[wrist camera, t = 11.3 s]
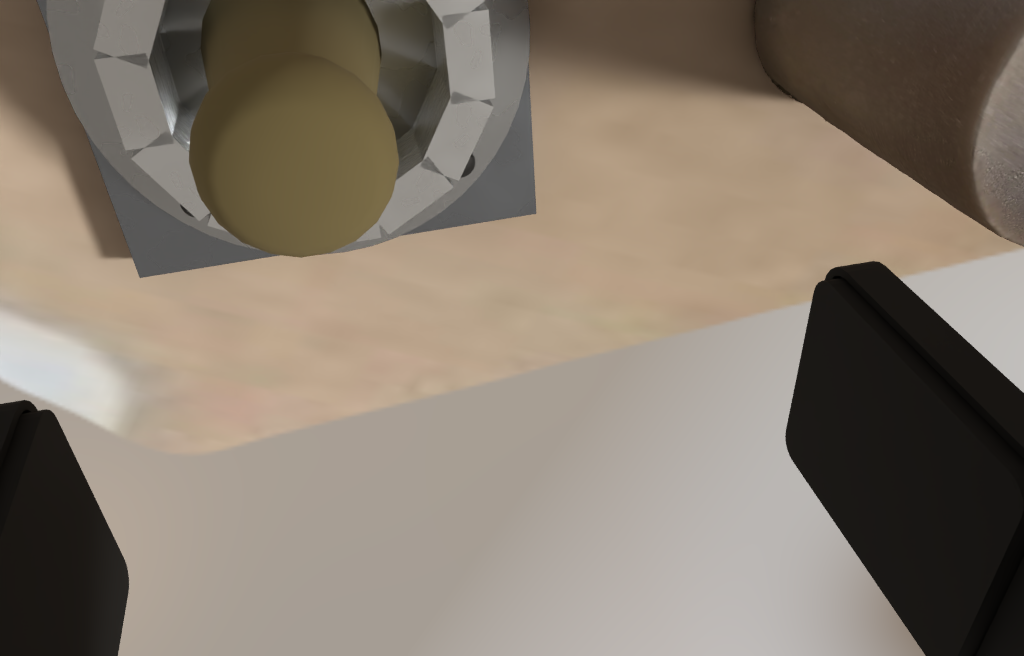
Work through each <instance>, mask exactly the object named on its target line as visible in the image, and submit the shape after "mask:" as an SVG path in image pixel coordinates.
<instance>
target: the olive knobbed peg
mask: <svg viewBox="0 0 1024 656" xmlns="http://www.w3.org/2000/svg"><path fill="white" fill-rule="evenodd" d="M201 53H202V58H203V63H204V68H205V73H206V79H207V84H208V89H209V91H208V92H207V93H206V94H205V96H204V99H203V101H202V103H201V105H200V108H199V110H198V112H197V114H196V116H195V119H194V121H193V124H192V127H191V132H190V148H189V164H190V168H191V171H192V174H193V178H194V181H195V184H196V188H197V191H198V194H199V196H200V198H201V200H202V201H203V203H204V204H205V206H206V207H207V209H208V210H209V211H210V213H211V214H212V216H213V217H214V218H215V220H216V221H217V223H218V224H219V225H220V226H222V227H223V228H224V229H226V230H227V231H228V232H229V233H231V234H232V235H233V236H235V237H236V238H237V239H238V240H240V241H241V242H242V243H245V244H247V245H250V246H252V247H255V248H257V249H260V250H262V251H265V252H267V253H270V254H275V255H284V256H293V257H307V256H313V255H320V254H326V253H331V252H333V251H335V250H337V249H340V248H342V247H344V246H346V245H348V244H350V243H353V242H355V241H357V240H358V239H359V238H360V237H361V236H362V235H363V234H364V233H366V232H367V231H368V230H369V229H370V228H371V227H372V226H373V225H375V224H376V223H377V222H378V220H379V218H380V217H381V215H382V213H383V211H384V210H385V208H386V206H387V204H388V203H389V201H390V199H391V197H392V194H393V191H394V187H395V182H396V176H397V171H398V166H399V157H398V150H397V143H396V137H395V131H394V128H393V125H392V123H391V121H390V119H389V117H388V115H387V113H386V111H385V109H384V107H383V105H382V104H381V102H380V100H379V98H378V96H377V88H378V81H379V73H380V65H381V57H382V52H381V45H380V38H379V31H378V26H377V24H376V22H375V20H374V18H373V16H372V14H371V12H370V9H369V7H368V5H367V3H366V1H365V0H211V1H210V3H209V6H208V8H207V10H206V13H205V15H204V17H203V20H202V33H201Z"/></svg>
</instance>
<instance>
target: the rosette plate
mask: <svg viewBox="0 0 1024 656" xmlns="http://www.w3.org/2000/svg"><path fill="white" fill-rule="evenodd" d="M210 1H211V0H37V2H38V5H39V8H40V10H41V13H42V16H43V18H44V21H45V24H46V27H47V29H48V32H49V35H50V41H51V47H52V53H53V56H54V59H55V62H56V66H57V69H58V72H59V76H60V79H61V82H62V85H63V87H64V89H65V92H66V94H67V96H68V98H69V100H70V103H71V105H72V107H73V109H74V112H75V114H76V115H77V117H78V119H79V120H80V122H81V123H82V125H83V127H84V129H85V132H86V134H87V137H88V140H89V142H90V145H91V148H92V150H93V153H94V156H95V158H96V161H97V164H98V167H99V169H100V172H101V175H102V177H103V180H104V183H105V185H106V188H107V191H108V193H109V196H110V199H111V202H112V204H113V207H114V210H115V212H116V215H117V218H118V220H119V223H120V226H121V228H122V231H123V234H124V237H125V239H126V242H127V245H128V247H129V250H130V253H131V255H132V258H133V261H134V263H135V266H136V269H137V272H138V274H139V277H140V278H142V277H148V276H155V275H161V274H167V273H173V272H179V271H185V270H192V269H198V268H204V267H210V266H216V265H222V264H229V263H235V262H241V261H247V260H253V259H259V258H266V257H272V256H278V255H275V254H270V253H267V252H265V251H262V250H260V249H257V248H255V247H252V246H250V245H247V244H245V243H242V242H241V241H240V240H238V239H237V238H236V237H235V236H233V235H232V234H231V233H229V232H228V231H227V230H226V229H224V228H223V227H222V226H220V225H219V224H218V223H217V221H216V220H215V218H214V217H213V216H212V214H211V213H210V211H209V210H208V209H207V207H206V206H205V204H204V203H203V201H202V200H201V198H200V196H199V194H198V191H197V188H196V184H195V181H194V178H193V174H192V171H191V168H190V164H189V148H190V132H191V127H192V124H193V121H194V119H195V116H196V114H197V112H198V110H199V108H200V105H201V103H202V101H203V99H204V96H205V94H206V93H207V92H208V91H209V89H208V84H207V79H206V73H205V68H204V63H203V58H202V53H201V33H202V20H203V17H204V15H205V13H206V10H207V8H208V6H209V3H210ZM365 1H366V3H367V5H368V7H369V9H370V12H371V14H372V16H373V18H374V20H375V22H376V24H377V26H378V31H379V38H380V45H381V52H382V57H381V65H380V73H379V81H378V88H377V96H378V98H379V100H380V102H381V104H382V105H383V107H384V109H385V111H386V113H387V115H388V117H389V119H390V121H391V123H392V125H393V128H394V131H395V137H396V143H397V150H398V157H399V166H398V171H397V176H396V182H395V187H394V191H393V194H392V197H391V199H390V201H389V203H388V204H387V206H386V208H385V210H384V211H383V213H382V215H381V217H380V218H379V220H378V222H377V223H376V224H375V225H373V226H372V227H371V228H370V229H369V230H368V231H367V232H366V233H364V234H363V235H362V236H361V237H360V238H359V239H358V240H357V241H355V242H353V243H350V244H348V245H346V246H344V247H342V248H340V249H337V250H335V251H333V252H331V253H340V252H347V251H352V250H356V249H361V248H365V247H370V246H373V245H376V244H379V243H382V242H385V241H388V240H390V239H393V238H396V237H398V236H401V235H407V234H414V233H420V232H426V231H432V230H438V229H444V228H451V227H457V226H463V225H469V224H475V223H481V222H488V221H494V220H500V219H506V218H512V217H518V216H525V215H531V214H536V199H535V180H534V160H533V141H532V122H531V102H530V83H529V64H528V60H529V53H530V18H529V9H528V0H365ZM326 254H330V253H326ZM320 255H321V254H320Z"/></svg>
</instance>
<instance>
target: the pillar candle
mask: <svg viewBox="0 0 1024 656" xmlns="http://www.w3.org/2000/svg"><path fill="white" fill-rule="evenodd" d="M754 21H755V37H756V45H757V51H758V54H759V58H760V60H761V62H762V65H763V68H764V70H765V72H766V73H767V75H768V76H769V77H770V78H771V79H772V82H773V83H774V84H775V85H776V86H777V87H778V88H779V89H781V90H782V91H783V92H784V93H786V94H788V95H792V98H794V99H795V100H796V101H799V102H801V103H803V104H805V105H806V106H808V107H809V108H811V109H812V110H813V111H815V112H816V113H818V114H819V115H820V116H821V117H823V118H824V119H825V120H826V121H828V122H829V123H830V124H832V125H834V126H835V127H837V128H838V129H840V130H842V131H843V132H845V133H846V134H847V135H849V136H850V137H851V138H853V139H854V140H855V141H857V142H858V143H859V144H861V145H862V146H863V147H865V148H867V149H868V150H870V151H871V152H873V153H874V154H876V155H877V156H879V157H880V158H882V159H884V160H885V161H887V162H888V163H889V164H891V165H892V166H894V167H895V168H897V169H898V170H899V171H901V172H903V173H904V174H906V175H908V176H909V177H911V178H912V179H913V180H915V181H916V182H918V183H919V184H921V185H922V186H924V187H925V188H926V189H928V190H929V191H931V192H932V193H934V194H936V195H937V196H939V197H940V198H942V199H943V200H945V201H946V202H947V203H949V204H950V205H952V206H953V207H954V208H956V209H957V210H959V211H961V212H962V213H964V214H966V215H967V216H969V217H970V218H972V219H973V220H975V221H977V222H978V223H980V224H981V225H983V226H984V227H986V228H987V229H989V230H991V231H992V232H994V233H995V234H997V235H998V236H1000V237H1003V238H1005V239H1007V240H1009V241H1011V242H1014V243H1016V244H1019V245H1022V246H1024V0H756V6H755V12H754Z"/></svg>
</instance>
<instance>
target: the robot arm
mask: <svg viewBox="0 0 1024 656" xmlns="http://www.w3.org/2000/svg"><path fill="white" fill-rule="evenodd" d="M785 437H786V445H787V449H788V452H789V455H790V457H791V459H792V460H793V462H794V464H795V465H796V466H797V468H798V469H799V471H800V472H801V474H802V475H803V477H804V478H805V480H806V481H807V483H808V484H809V485H810V487H811V488H812V490H813V491H814V493H815V494H816V496H817V497H818V499H819V500H820V501H821V503H822V505H823V506H824V507H825V509H826V510H827V511H828V513H829V515H830V516H831V518H832V519H833V521H834V522H835V523H836V525H837V526H838V528H839V529H840V531H841V532H842V534H843V535H844V537H845V538H846V540H847V541H848V543H849V544H850V545H851V547H852V548H853V550H854V551H855V553H856V554H857V556H858V557H859V558H860V560H861V562H862V563H863V564H864V566H865V567H866V569H867V570H868V572H869V573H870V575H871V576H872V578H873V579H874V580H875V582H876V583H877V585H878V586H879V588H880V589H881V591H882V592H883V594H884V595H885V597H886V598H887V599H888V601H889V602H890V604H891V605H892V607H893V608H894V610H895V611H896V613H897V614H898V616H899V617H900V619H901V620H902V622H903V623H904V624H905V626H906V627H907V629H908V630H909V632H910V633H911V635H912V636H913V638H914V639H915V640H916V642H917V644H918V645H919V646H920V648H921V649H922V651H923V652H924V654H925V655H926V656H1024V393H1023V392H1022V391H1021V390H1020V389H1019V388H1017V387H1016V386H1015V385H1014V384H1013V383H1012V382H1011V381H1010V380H1009V379H1008V378H1007V377H1005V376H1004V375H1003V374H1002V373H1001V372H1000V371H999V370H998V369H997V368H996V367H994V366H993V365H992V364H991V363H990V362H989V361H988V360H987V359H986V358H985V357H983V355H982V354H980V353H979V352H978V351H977V350H976V349H975V348H974V347H973V346H972V345H971V344H970V343H968V342H967V341H966V340H965V339H964V338H963V337H962V336H961V335H960V334H958V332H957V331H955V330H954V329H953V328H952V327H951V326H950V325H949V324H948V323H947V322H946V321H944V320H943V319H942V318H941V317H940V316H939V315H938V314H937V313H936V312H935V311H934V310H933V309H931V308H930V307H929V306H928V305H927V304H926V303H925V302H924V301H923V300H921V299H920V298H919V297H918V296H917V295H916V294H915V293H914V292H913V291H912V290H911V289H910V288H909V287H907V286H906V285H905V284H904V283H903V282H902V281H901V280H900V279H899V278H898V277H897V276H896V275H895V274H893V273H892V272H891V271H890V270H889V269H888V268H887V267H886V266H885V265H883V264H881V263H880V262H875V261H872V262H866V263H860V264H853V265H847V266H841V267H835V268H833V269H831V270H830V271H829V272H828V274H827V275H826V278H825V281H821V282H819V283H818V284H817V285H816V287H815V290H814V294H813V299H812V304H811V309H810V314H809V319H808V324H807V329H806V334H805V339H804V344H803V349H802V354H801V359H800V364H799V369H798V374H797V379H796V384H795V389H794V394H793V399H792V403H791V409H790V414H789V418H788V423H787V429H786V436H785ZM128 590H129V577H128V570H127V566H126V563H125V560H124V557H123V556H122V553H121V551H120V549H119V547H118V545H117V543H116V541H115V539H114V537H113V535H112V532H111V530H110V528H109V526H108V524H107V522H106V520H105V518H104V516H103V514H102V512H101V510H100V507H99V505H98V503H97V501H96V499H95V497H94V495H93V493H92V491H91V489H90V487H89V485H88V482H87V480H86V478H85V476H84V474H83V472H82V470H81V468H80V466H79V464H78V462H77V460H76V457H75V455H74V453H73V451H72V449H71V447H70V445H69V443H68V441H67V439H66V437H65V435H64V432H63V430H62V428H61V426H60V424H59V422H58V420H57V418H56V417H55V415H54V413H53V412H52V411H50V410H41V411H38V410H37V409H36V407H35V406H34V405H33V404H32V403H31V402H30V401H26V400H23V401H16V402H11V403H4V404H0V656H118V650H119V644H120V639H121V633H122V626H123V621H124V615H125V608H126V603H127V597H128Z"/></svg>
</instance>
